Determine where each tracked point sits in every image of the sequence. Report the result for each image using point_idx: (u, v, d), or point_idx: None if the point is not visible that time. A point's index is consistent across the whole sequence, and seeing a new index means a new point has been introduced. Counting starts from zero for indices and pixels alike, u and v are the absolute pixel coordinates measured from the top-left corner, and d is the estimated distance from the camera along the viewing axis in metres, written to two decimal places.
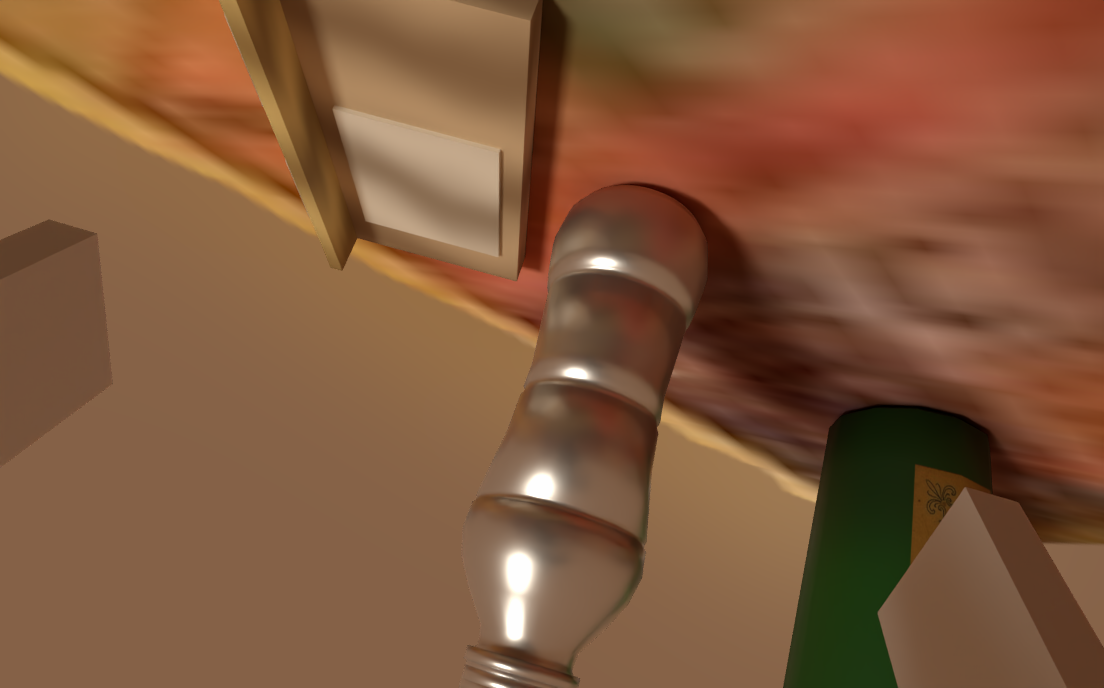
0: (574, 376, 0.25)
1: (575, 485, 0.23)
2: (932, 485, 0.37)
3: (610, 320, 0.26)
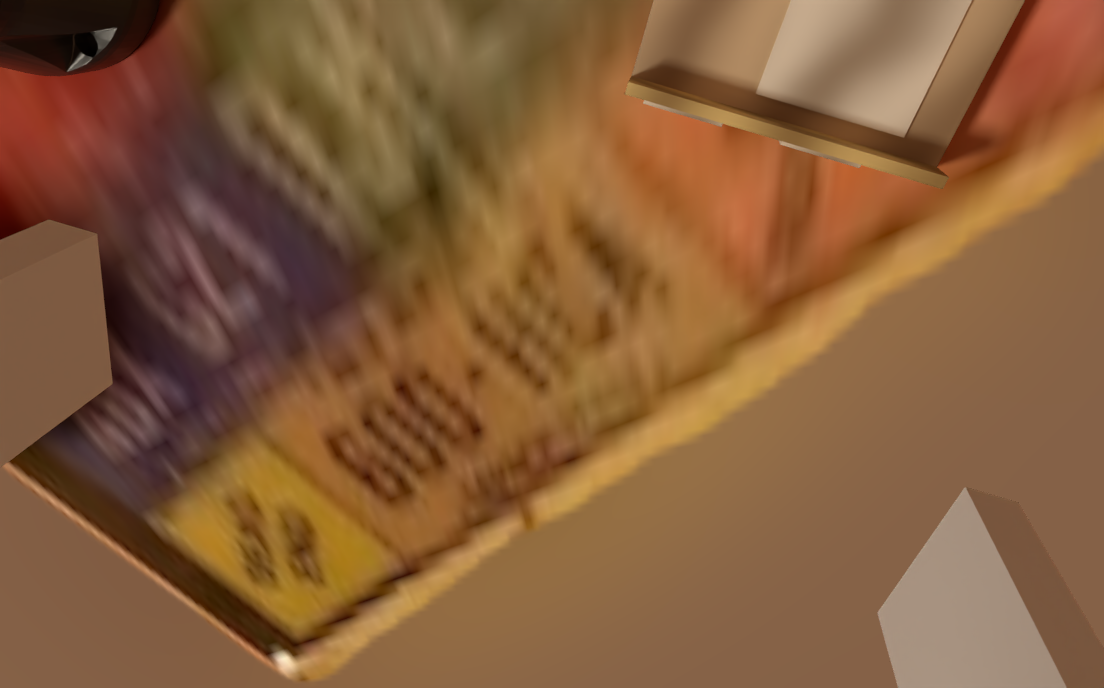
0: None
1: None
2: None
3: None
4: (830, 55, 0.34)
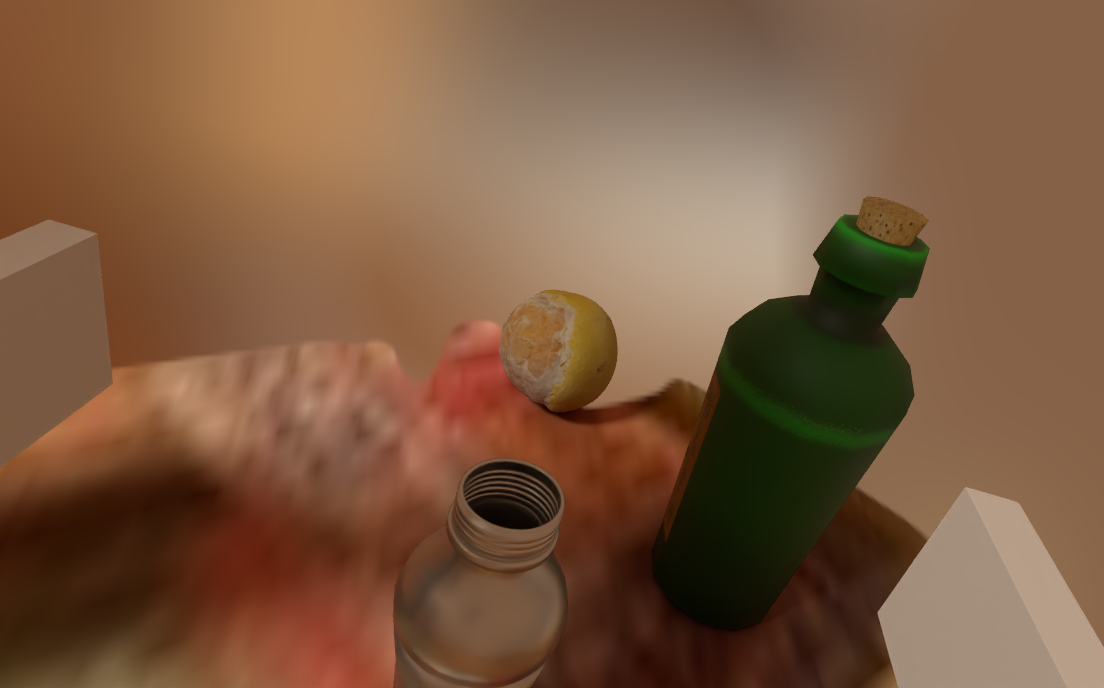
0: None
1: None
2: (668, 523, 0.47)
3: None
4: None
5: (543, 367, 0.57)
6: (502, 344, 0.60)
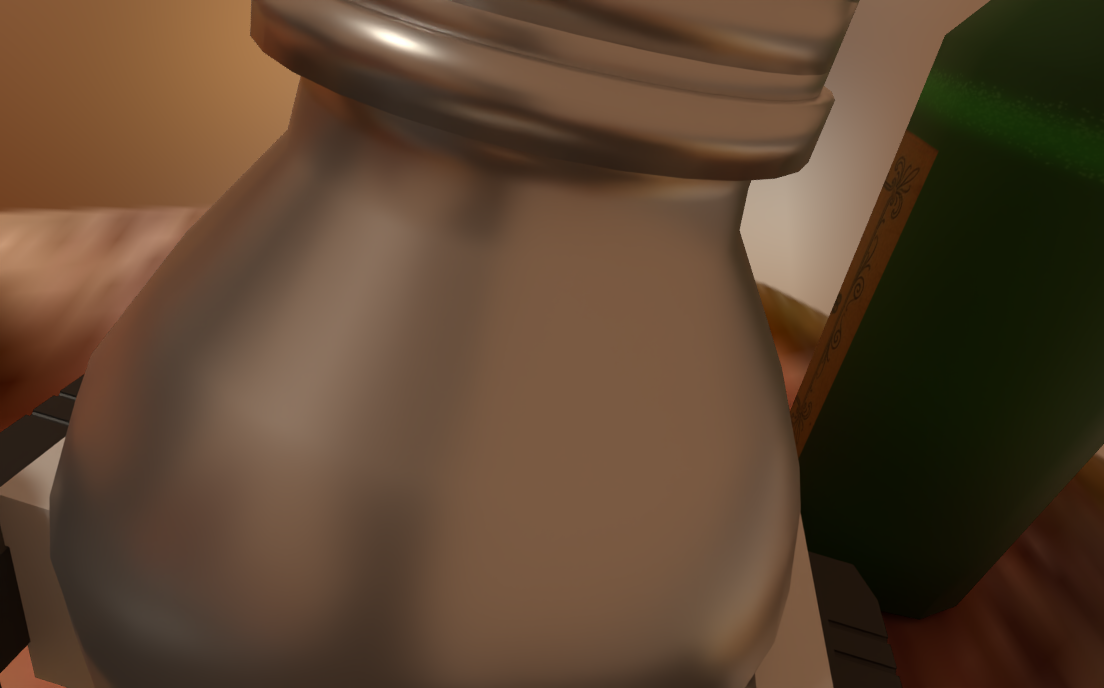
0: None
1: None
2: (797, 434, 0.27)
3: None
4: None
5: None
6: None
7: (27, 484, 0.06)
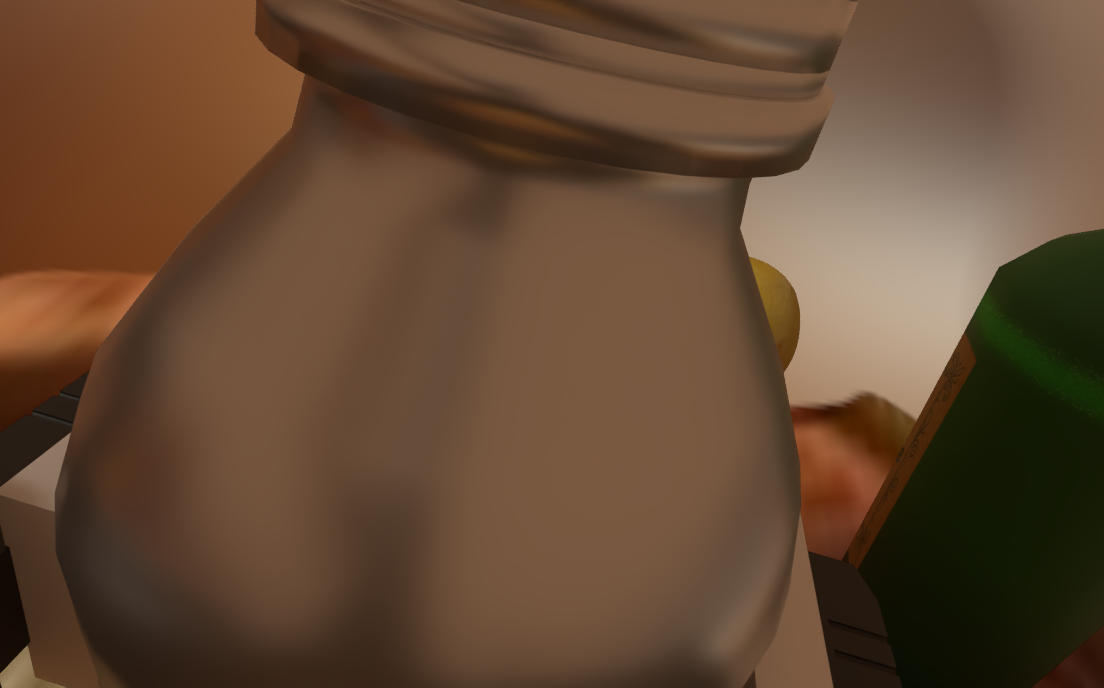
0: None
1: None
2: (857, 554, 0.33)
3: None
4: None
5: None
6: None
7: (27, 484, 0.06)
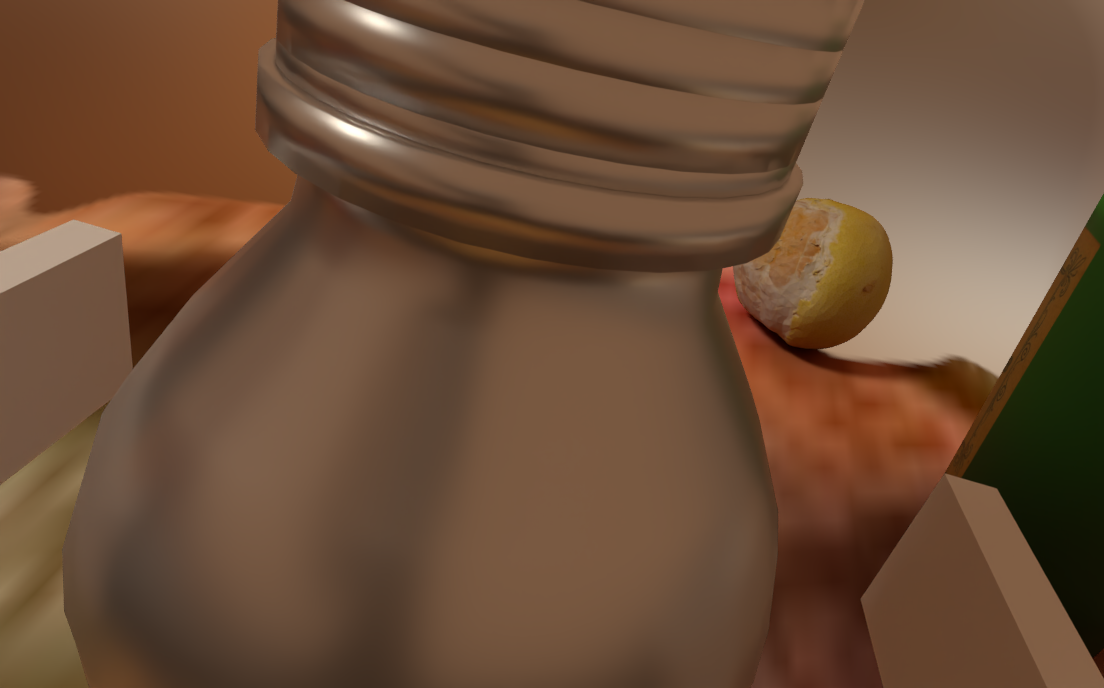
0: None
1: None
2: (957, 471, 0.32)
3: None
4: None
5: (790, 274, 0.45)
6: None
7: None
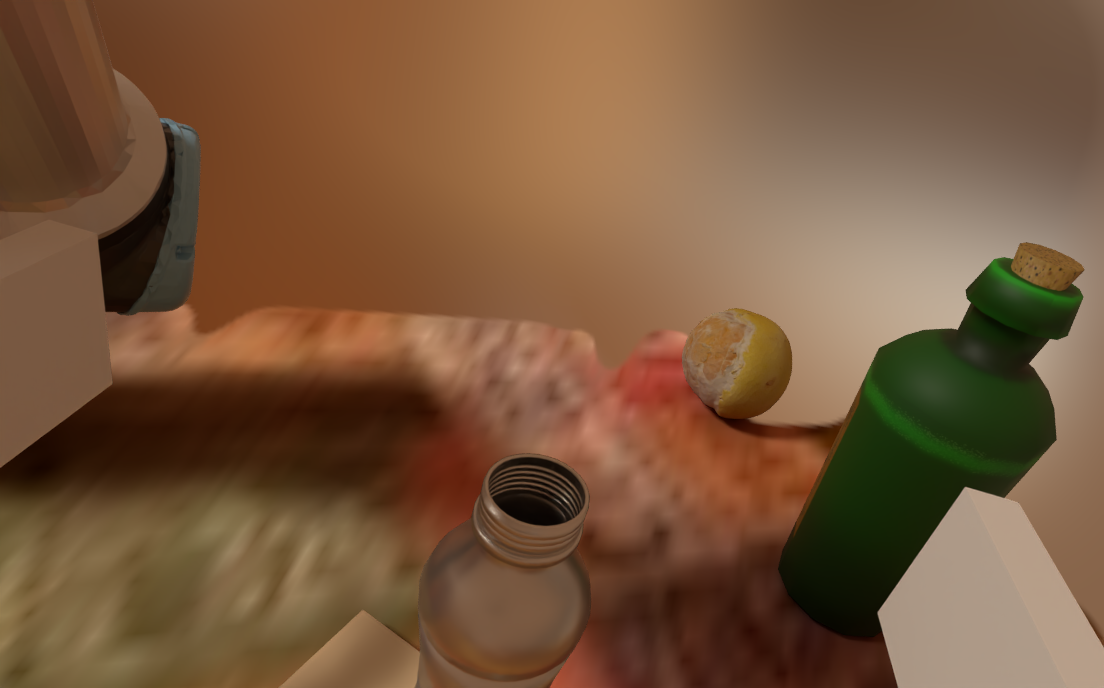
0: (419, 677, 0.29)
1: None
2: (799, 521, 0.52)
3: None
4: None
5: (716, 372, 0.64)
6: (685, 348, 0.68)
7: None
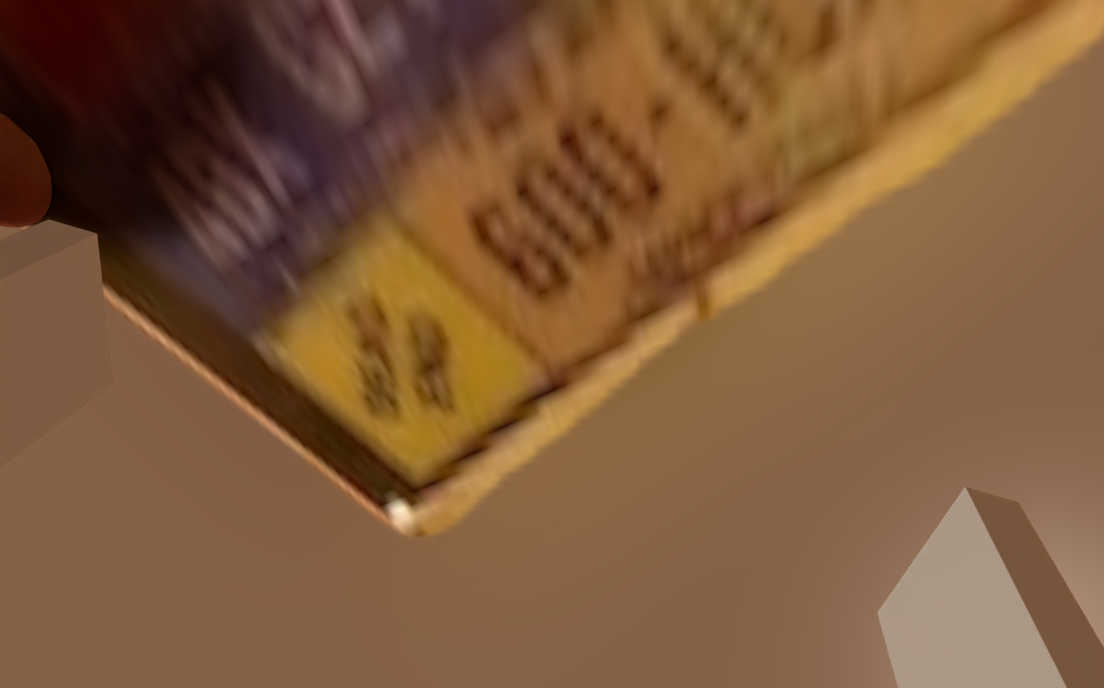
0: None
1: None
2: None
3: None
4: None
5: None
6: None
7: None
